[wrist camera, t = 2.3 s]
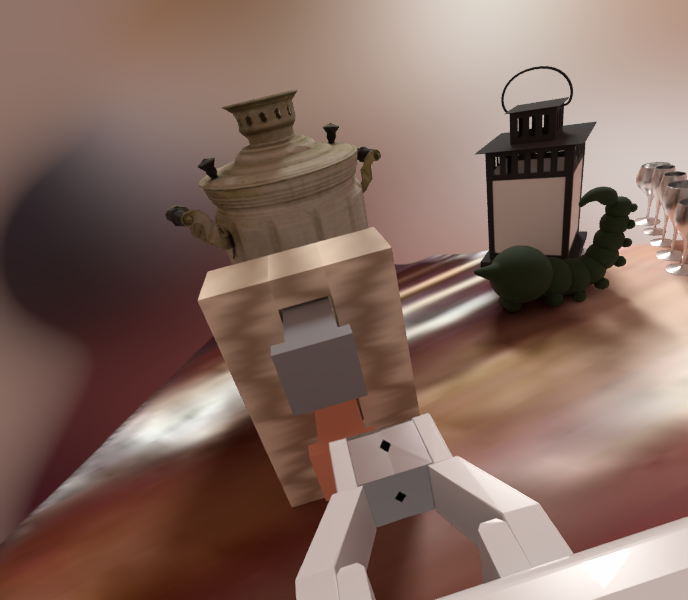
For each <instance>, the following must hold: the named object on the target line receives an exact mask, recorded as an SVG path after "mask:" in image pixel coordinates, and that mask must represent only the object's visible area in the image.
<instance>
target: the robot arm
mask: <svg viewBox="0 0 688 600" xmlns="http://www.w3.org/2000/svg"><path fill="white" fill-rule="evenodd" d="M329 451H330V456H331V462H332V467H333V473H334V479H335V484H336V490H337V493H336V494H333V495H332V496H331V498H330V501H329V503H328V505H327V508H326V510H325V512H324V515H323V517H322V519H321V522H320V524H319V526H318V529H317V531H316V533H315V536H314V538H313V540H312V543H311V545H310V547H309V550H308V552H307V554H306V557H305V559H304V561H303V564H302V566H301V568H300V571H299V573H298V575H297V578H296V580H295V585H296V600H376V598H375V595H374V593H373V590H372V587H371V584H370V581H369V578H368V575H367V573H366V571H367V567H368V563H369V559H370V555H371V551H372V547H373V543H374V539H375V535H376V531H377V530H376V528H377V527H380V526H383V525H386V524H389V523H392V522H395V521H398V520H400V519H403V518H405V517H410V516H413V515H417V514H421V513H424V512H428V511H431V510H435V509H436V511H437V512H438V513H439V514H440V515H441V516H442V517H444V518H445V519H446V520H447V521H448V522H449V523H451V524H452V525H453V526H454V527H455V528H456V529H458V530H459V531H460V532H461V533H462V534H463V535H465V536H466V537H467V538H468V539H469V540H471V541H472V542H473V543H474V544H475V545H476V546H478V547H479V548H480V559H481V571H482V583H483V584H481V585H478V586H475V587H472V588H469V589H466V590H463V591H460V592H457V593H454V594H451V595H448V596H445V597H442V598H438V599H435V600H688V517H685V518H682V519H679V520H676V521H673V522H670V523H667V524H664V525H661V526H658V527H655V528H652V529H649V530H646V531H643V532H639V533H636V534H633V535H630V536H627V537H624V538H621V539H618V540H615V541H612V542H609V543H606V544H603V545H600V546H597V547H594V548H591V549H588V550H585V551H582V552H579V553H576V554H573V552H572V551H571V549H570V548H569V547H568V545H567V544H566V542H565V541H564V539H563V538H562V536H561V535H560V533H559V532H558V530H557V529H556V527H555V526H554V525H553V523H552V522H551V520H550V519H549V517H548V516H547V514H546V513H545V511H544V510H543V508H542V507H541V506H540V504H539V503H538V502H536V501H534V500H532V499H531V498H529V497H527V496H526V495H524V494H522V493H520V492H519V491H517V490H515V489H514V488H512V487H510V486H509V485H507V484H505V483H503V482H502V481H500V480H498V479H497V478H495V477H493V476H492V475H490V474H488V473H486V472H485V471H483V470H481V469H480V468H478V467H476V466H474V465H473V464H471V463H469V462H468V461H466V460H464V459H463V458H461V457H459V456H456V457H453V456H452V454H451V453H450V451H449V449H448V447H447V445H446V443H445V441H444V439H443V438H442V436H441V434H440V432H439V430H438V428H437V426H436V424H435V423H434V421H433V419H432V417H431V415H430V414H428V413H427V414H424V415H420V416H417V417H414V418H412V419H411V418H410V419H407V420H404V421H401V422H397V423H394V424H391V425H388V426H385V427H382V428H379V429H376V430H373V431H369V432H365V433H362V434H358V435H354V436H351V437H347V438H344V439H341V440H337V441H334V442H330V443H329Z"/></svg>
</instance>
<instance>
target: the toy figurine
mask: <svg viewBox="0 0 688 600" xmlns="http://www.w3.org/2000/svg"><path fill="white" fill-rule="evenodd" d="M592 201H598V202H600V203H601V204H603V205H606V207H605V212H606V214H604V215H603V216H602V217H601V220H600V230H598V231H597V232H596V234H595V236H594V239H593V244H592V245H591V246H590V247H589V248H588V249H587V251H586V253H585V255H582V256H580V257H578V258H576V259H572V258H569V259H564V260H561V259H559V258H556V257H547V256H546V255H545V254H543V253H542V252H541V251H540V250H538V249H536V248H533V247H530V246H523V245H518V246H513V247H509V248H507V249H505V250H504V251H502V252H501V253H500V254H498V255H497V256H496V257H495V259H494V260H493V262H492V264H491V265H489V266H486V267H483V268H480V269H477V270H475V271H474V274H476V275H478V276H480V277H483V278H485V279H488V280H490V283H491V286H492V288H493V289H494V291H495V292H496V293H497V294H498V295H499V296H500V303H501V305H502V306H503V307H504V308H505V309H506V310H507V311H510V312H516V311H518V310H519V309H520V308H521V306H522V303H526V302H530V301H533V300H535V299H537V298H539V297H540V296H541V297H545V298H546V303H548V304H549V305H551V306H553V307H554V306H558V305H560V304H561V303H562V302H563V295H562V294H564V295H572V297H573V299H574V300H575V301H578V302H579V301H584V300H585V299H586V297H587V295H586V293H585V291H584V290H585V289H586V288H587V287H588V286H589V285H592V284H594V286H595V287H596V288H598V289H601V290H603V289H605V288H607V287H608V286H609V281H608V279H606V278H603V277H604V275H605V273H606V269H608V268H610V267H612V266H613V265H615V266H617V267H620V266H624V265H625V264H626V259H625V258H624V257H623V256H619V252H618V250H619V249H620V248H621V247H629V246H631V244H632V241H631V239H629V238H625V236H624V233H623V232H624V231H626V229H632V228H633V227H634V226H635V221H634V220H629V217H628V215H629V214H630V212H634V211H636V210H637V207H638V206H637V205H636V204H632V203H631V201H630V200H629V199H628V198H626V197H618V195H617V192H616V191H615V190H614V189H612V188H610V187H597V188H595V189H592V190H590V191H589V192H587V193H586V194H585V195H584V196H583V197H582V199H581V200H580V202H579V207H582V206H584V205H586V204H587V203H589V202H592Z"/></svg>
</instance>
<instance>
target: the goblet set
mask: <svg viewBox="0 0 688 600" xmlns="http://www.w3.org/2000/svg"><path fill="white" fill-rule="evenodd" d="M636 179H637V180H636V182H637V185H638V187H639V188H640V189H641V190H643V191H644V192H645V193H646V195H647V197H648V211H647V216H646V218H638V219H636V220H634V221H635V224H637V225H641V226H652V225H654V228H647V229H644V230H643V231H642V232H643V233H644V234H646V235H653V236H656V235H662V239H653V240H651V241H650V242H649V243H650V244H651V245H653V246H658V247H669V246H671V250H661V251H658V252H656V253H655V256H656V257H657V258H659V259H662V260H667V261H680V260H682V263H681V264H670V265H668V266H666V267H665V270H666V271H667V272H669V273H671V274H675V275H683V276H687V275H688V264H684V262H685V259H686V258H687V257H688V255H687V251H688V180H687V175H686V173H685V172H678V171H675V166H673V165H671V164H669V163H667V162H654V163H647V164H644V165H642V167H641V169H640V171H639V173H638V175H637V178H636ZM654 197H655V200H656V216H655V218H649V211H650V206H651V202H652V200H653V198H654ZM661 204H662V206H663V209H664V213H665V221H664V229H661V228H656V225H657V224H659V223H660V220H658V219H657V218H658V213H659V209H660V206H661ZM669 218H670V220H671V221H672V223H673V226H674V234H673V240H670V239H664V236H665V233H666V226H667V222H668V219H669ZM678 232H679V233H680V234H681V236H682V238H683V240H684V251H683V252H682V251H678V250H674V246H675V242H676V238H677V234H678Z"/></svg>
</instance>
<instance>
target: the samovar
mask: <svg viewBox="0 0 688 600" xmlns="http://www.w3.org/2000/svg"><path fill="white" fill-rule="evenodd" d="M296 92H297V89H296V90H291V91H287V92H283V93H278V94H274V95H270V96H266V97H261V98H257V99H253V100H249V101H245V102H241V103H237V104H232V105H228V106H224V107H222V108H223V109H226V110H227V111H229V112H231V113H233V115H234V116H235V118H236V120H237V122H238V125H239V132H240V133H241V134H242V135H244V136H245V137H246V138H248V140H249V143H250V145H249V146H246V147H244V148H243V149H242V150H241V151H240V152H239V153H238V154H237V155H236V157H235V161H233V162H231V163H228V164H227V165H225V166H223V167H220V168H218V169H216V168H215V167H214V160H215V159H214V158H210V159H203V161H202V162H201V163H200V164H199V166H198V168H200V169H202V170H204V171H206V173H207V176H205V177H204V178H203V179H201V180H200V182H199V187H202V188H203V189H204V191H205V193H206V194H207V196H208V198H209V199H210V200H211V201H212V203H213V204H214V205H216V206H217V211H216V215H215V221H216V223H217V225H216V223H215V222H214V221H212V220H211V219H210V218H209V217H208V215H206V214H205V213H203V212H202V211H200V210H189V209H187V208H186V207H184V206H173V207H171V208H169V209H167V211H166V213H165V217H166V219H167V220H169V221H172V222H173V223H174V225H175V226H187V227H189V226H190V229H191V233H192V235H193V236H194V237H197V238H199V239H201V240H202V241H204V242H205V243H206V244H209V245H215V246H216V247H218V248H220V249H223V250H226V251H227V254H228V257H229V260H230V262H231V265H235V264H238V263H242V262H246V261H249V260H253V259H257V258H261V257H264V256H268V255H272V254H275V253H279V252H283V251H287V250H290V249H294V248H298V247H301V246H305V245H309V244H313V243H316V242H320V241H324V240H327V239H331V238H335V237H338V236H342V235H346V234H350V233H353V232H357V231H361V230H364V229H368V223H367V216H366V210H365V204H364V197H363V193H364V192H365V191H366V190H367V187H368V185H369V183H370V182H371V180H372V172H371V164H372V163H373V161H378V160H379V158H380V157H381V154H380V152H379V151H378V150H374V149H367V148H366V147H361V148H356V146H353V145H348V144H345V143H335V142H334V140H335V138H336V131H337V129H338V128H339V126H336V125H334V124H331V123H330V124H328V125H326V126H324V127H323V129H324V130H325V131H326V132H327V139H328V141H329V142H328V143H320V142H319V143H316V142H315V141H314V140H313V139H312V138H310V137H305V136H303V135H294V132H293V128H292V126H293V124H294V121H295V112H294V107H293V103H292V98H293V97H294V95H295V93H296ZM289 107H290V111H291V113H290V111H289ZM279 110H280V114H281V115H280V114H279ZM357 160H359V161H360V162H364V165H363V167H362V168H361V175H362V182H361V183H360V182H359V181H358V180H357V178H356V177H355V176H354V174H355V172H356V165H357ZM217 226H218V228H217ZM328 298H329V302H330V305H331V308H332V309H333V306H332V303H331V299H330V296H328Z"/></svg>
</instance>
